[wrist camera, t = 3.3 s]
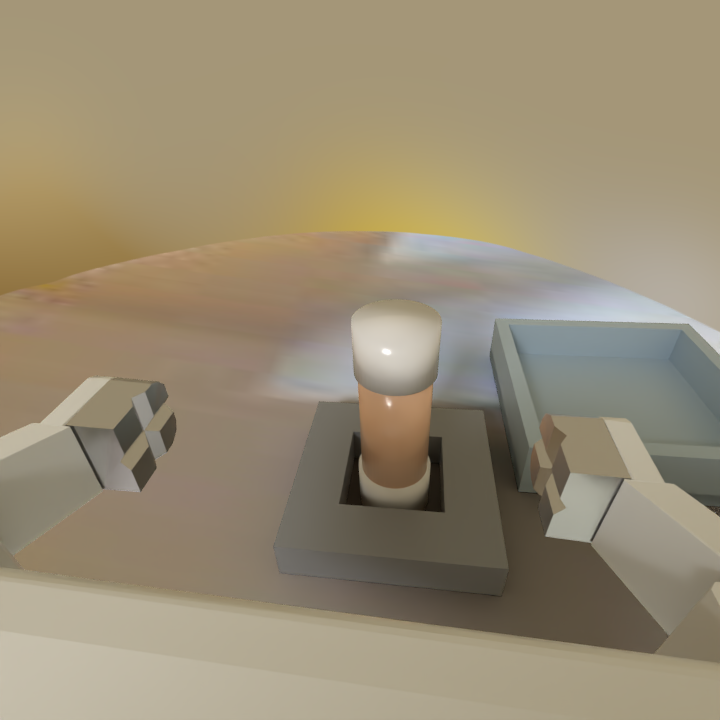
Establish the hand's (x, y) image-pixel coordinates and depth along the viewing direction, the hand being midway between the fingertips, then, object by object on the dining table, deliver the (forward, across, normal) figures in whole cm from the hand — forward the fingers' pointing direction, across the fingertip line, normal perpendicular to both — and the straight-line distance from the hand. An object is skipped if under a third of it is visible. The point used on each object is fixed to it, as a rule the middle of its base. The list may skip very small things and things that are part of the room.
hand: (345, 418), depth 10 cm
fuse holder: (+12, -1, +17) cm, 21 cm away
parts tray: (+21, -17, +17) cm, 32 cm away
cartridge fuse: (+12, -1, +17) cm, 21 cm away
